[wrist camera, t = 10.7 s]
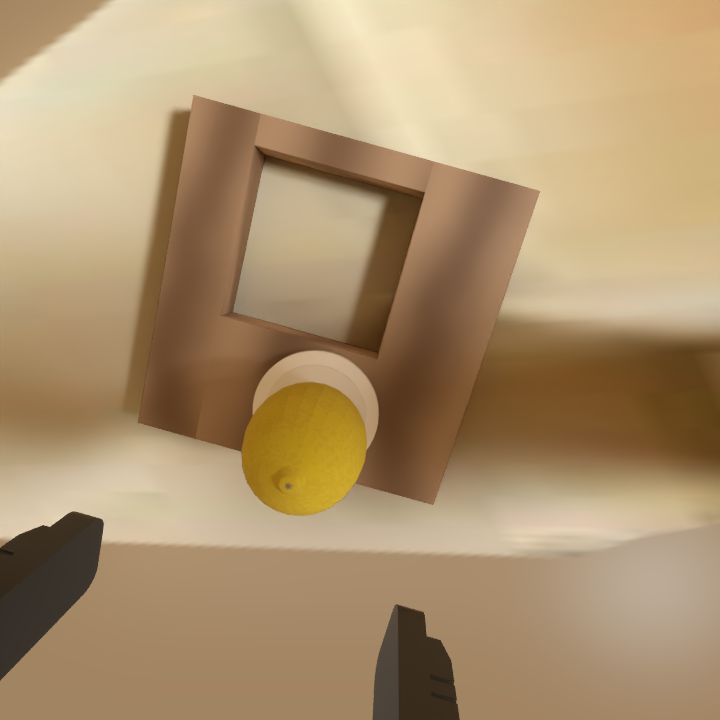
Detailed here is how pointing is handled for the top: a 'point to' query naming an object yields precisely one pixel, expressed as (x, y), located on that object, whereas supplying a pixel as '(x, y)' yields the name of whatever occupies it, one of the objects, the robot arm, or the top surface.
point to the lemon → (304, 448)
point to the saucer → (324, 381)
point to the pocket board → (274, 342)
